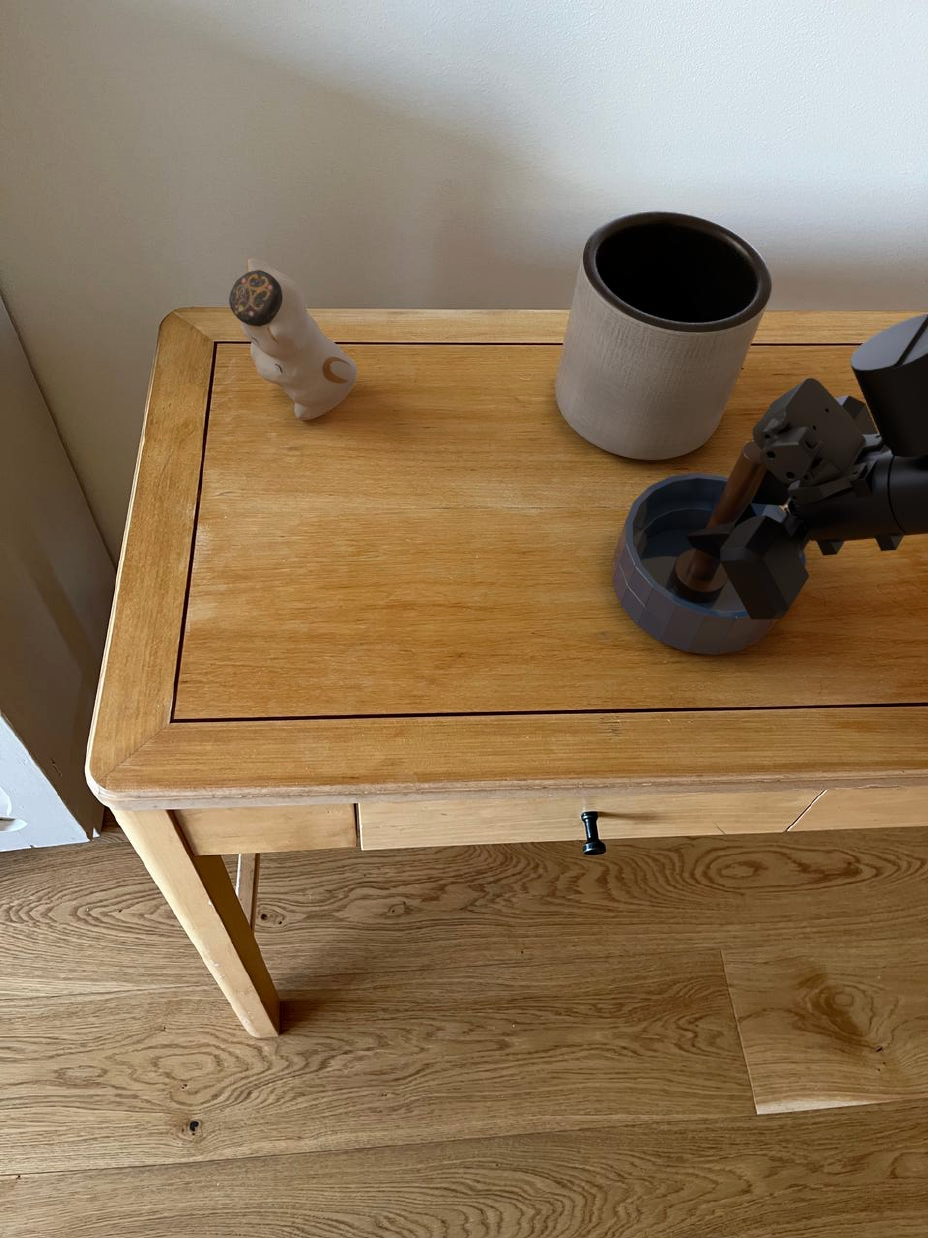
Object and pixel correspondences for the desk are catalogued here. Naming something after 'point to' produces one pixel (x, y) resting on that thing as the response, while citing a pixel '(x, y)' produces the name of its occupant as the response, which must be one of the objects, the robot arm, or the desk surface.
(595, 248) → the planter
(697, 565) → the stirring stick
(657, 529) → the bowl
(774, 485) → the robot arm
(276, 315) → the figurine
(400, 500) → the desk surface
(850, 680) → the desk surface
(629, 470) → the desk surface
